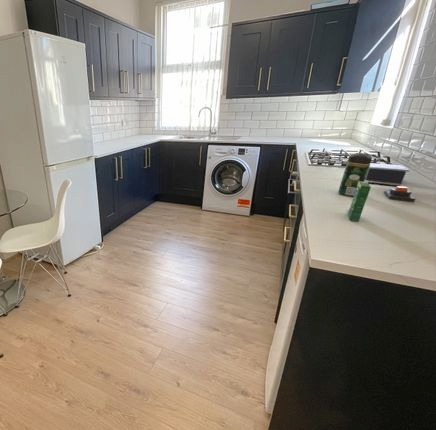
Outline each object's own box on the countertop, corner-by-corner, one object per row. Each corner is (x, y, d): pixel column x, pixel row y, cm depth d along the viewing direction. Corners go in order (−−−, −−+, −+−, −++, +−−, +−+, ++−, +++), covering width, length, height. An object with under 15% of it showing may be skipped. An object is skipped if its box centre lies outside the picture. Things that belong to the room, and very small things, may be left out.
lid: (402, 167, 143) (402, 165, 143) (408, 171, 134) (409, 169, 134) (365, 164, 150) (366, 162, 150) (369, 168, 141) (370, 166, 141)
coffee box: (347, 213, 107) (358, 180, 102) (356, 215, 105) (368, 181, 100) (348, 220, 101) (360, 185, 96) (358, 222, 99) (371, 186, 94)
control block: (383, 193, 129) (386, 186, 128) (407, 196, 125) (410, 188, 124) (388, 199, 121) (391, 191, 120) (413, 202, 118) (417, 194, 116)
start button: (394, 189, 125) (395, 185, 124) (405, 190, 123) (406, 186, 122) (396, 191, 122) (397, 187, 121) (407, 192, 120) (409, 188, 119)
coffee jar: (339, 190, 134) (351, 151, 127) (360, 193, 129) (374, 153, 122) (336, 194, 128) (349, 153, 121) (358, 198, 123) (373, 156, 116)
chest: (393, 182, 147) (399, 167, 144) (399, 187, 138) (406, 172, 135) (360, 178, 153) (365, 164, 150) (364, 183, 144) (369, 168, 141)
